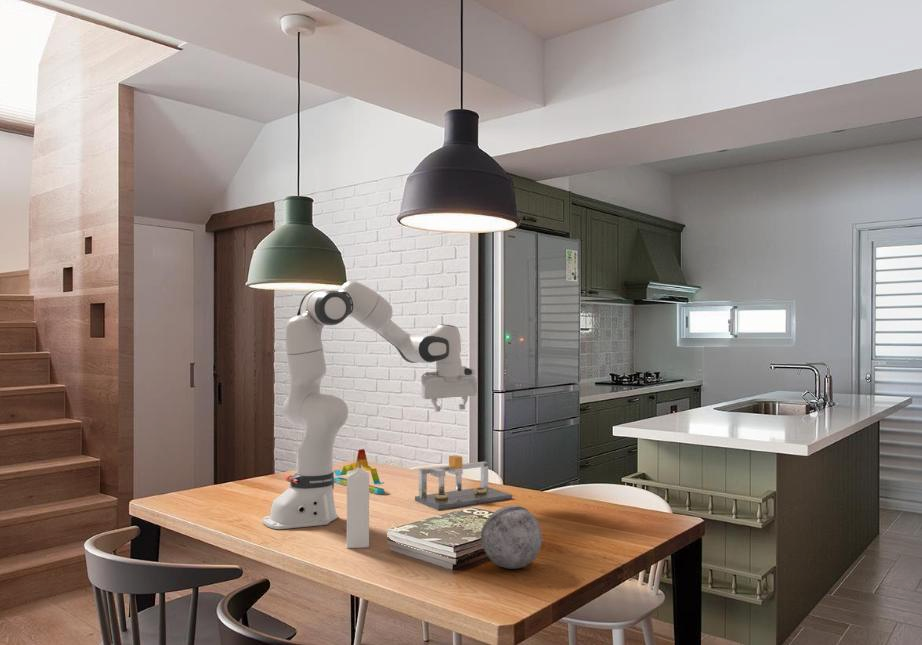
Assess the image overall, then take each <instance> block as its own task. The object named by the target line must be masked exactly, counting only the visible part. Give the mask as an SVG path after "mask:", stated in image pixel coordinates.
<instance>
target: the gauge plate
mask: <svg viewBox="0 0 922 645" xmlns="http://www.w3.org/2000/svg"><path fill="white" fill-rule="evenodd" d="M448 467H449V465H444V466H443V465H442V466H434V467H424V468H418V495H415V496H414V501H415V502H416V503H419V504H421V505H425V506H427V507H430V508H432V509H434V510H436V511H437V510H438V511H441V510H443V511H444V510H449V509H454V508H460V507H461V508H462V507H467V506H468V507H469V506H475V505H480V504H485V503H486V504H487V503H495V502H499V501H507V500H511V499H512V498H513V494H511V493H508V492H504V491H501V490H498V489H495V488H492V487H489V461H485V460H484V461H477V462H469V463H468V462H467V463H462V468H463V470H470V469H477V468H480V487H474V488H465V489H462V491H456V490H453V491H445V477H446V472H448ZM427 474H430V475H431V476H432V477H436V478H438V492H437V493H429V494H428V490H427V489H428V488H427V487H428V485H427V484H428V483H427Z"/></svg>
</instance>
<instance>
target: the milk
mask: <svg viewBox="0 0 922 645" xmlns="http://www.w3.org/2000/svg"><path fill="white" fill-rule="evenodd" d="M346 479H347V486H346V549H360V548H362V549H363V548H369V547H370V492H369V485H370V474H369V472H368V471H367V470H365V469H363V468H361V469H360V468H359V467H357V468H356V469H354V470H351V471H348V472H347V474H346Z"/></svg>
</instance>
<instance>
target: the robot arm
mask: <svg viewBox="0 0 922 645" xmlns="http://www.w3.org/2000/svg"><path fill="white" fill-rule="evenodd" d="M393 311H394V310H393V307H392V304H390V303H389V302H388V300H387V299H386V298H384V297H383V296H382V295H380V293H377V292H376V291H375V290H373V289H372V288H370V287H368V286H367V285H364V284H362V283H361V282H358V281H356V280H349V281H346V282H344V283H343V284H342V285H341V286H340V287H339V289H338V290H329V289H313V290H311V291H309V292H308V293H306V294H305V295H303V297H302V299H301V301H300V303H299V308H298V311H297V313H296V315H295V316H293V317H291V318H290V319H289V320H288V321H287V322H286V324H285V331H284V332H285V336H284V337H285V348H286V356H287V362H288V369H289V378H290V380H289V383H290V384H289V391H288V395H287V398H286V399H285V400H284V402H283V403H282V409H281V410H282V415H283V418H284V419H285V420H286V421H287V422H288V423H290V424H292V425H294V426H296V427H298V428H306V431H305V436H304V438H303V441H302V442H301V443H300V444H299V445H298V446H297V449H296V471H295V472H296V473H295V474H294V475H291V474H286V476H285V478H284V479H285V481H287V482H289V483H290V486H288V488H287V489H286V490H284V491H283V492H282V493H281V494H280V495H278V496H277V497H276V498H275V499H274V500H273V501H272V504H271V507H270V513H269V514H270V515H267V516H264V517H263V519H262V523H263V525H265V526H266V527H268V528H270V529H275V530H287V529H294V528H295V529H297V528H306V527H315V526H316V527H317V526H324V525H325V526H326V525H329V524H330V523H331V522H332V521H335V520H336V519H337V518H338V513H337V510H336V509H337V508H336V505H335V500H334V498H335V497H334V489H335V488H334V487H335V483H334V478H335V476H334V474H335V473H334V472H333V459H334V458H333V455H334V453H333V452H334V445H335V441H336V437H337V435H338V433H339V431H340V429H341V428H342V427H343V426H344V425H345V424H346V422H347V421H348V416H349V408H348V405H347V403H346V402H345V401H344V400H343V399H342V398H340V397H337V396H336V395H333V394H326V393H321V383H322V379H323V378H324V377H325V375H326V373H327V365H326V359H325V353H324V348H323V343H322V342H323V341H322V339H321V338H322V332H323V331H322V330H323V328H324V326H336V325H338V324H340V323H342V322H343V321H345V320H346V318H347V317H349V316H350V317H351V318H353V319H355V320H356V321H357V322H359V323H360V324H362V325H364V327H366V328H368V329H370V330H372V331H374V332H375V333H377V334H378V335H379V336H381V337H382V338H383V339H384V340H386V341H387V342H388V343H390V344H391V345H392V346H393V347H394V348H395V349H396V350H397V352H398V353H399V356H401V358H402V359H403V360H404V361H406V362H407V363H411V364H417V363H421V364H422V363H423V364H424V363H427V364H431V363H434V362H435V366H436V369H435V370H436V371H431V372H430V371H426V372H425V373H423V374H422V375H421V391H420V392H421V394H420V396H421V398H422V399H425V400H431V404H432V405H433V407H434V412H436V413H437V412H441V406H440V405H438V404H437V402H438V400H439V399H450V398H461V400H462V402H461V403H460V404H458V406H459V407H458V408H459V410H460V411H461V410H462V411H463V410H465V409H466V404H467V402H468V400H469V397H474V396H476V395H477V394H478V383H477V379H476V376H474V375H475V374H476V373H475V369H473V368H471V367H467V366H464V365H462V358H461V351H462V343H461V340H462V339H461V332H460V330H459V328H458V326H455V325H450V324H438V325H437V326H436V328H433V330H431V331H429V332H427V333H425V334H413V333H408V332H406V331H405V330H404V329H402V327H400V326H399V325H397V324H396V323H395V322H394V321H393V320H392V317H393Z"/></svg>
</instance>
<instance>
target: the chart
mask: <svg viewBox="0 0 922 645" xmlns="http://www.w3.org/2000/svg"><path fill="white" fill-rule="evenodd" d="M357 467H359V468H360V469H363V470H364V471H370V474H371V478H372V481H373V485H370V484H369V494H374V495H377V496H378V495H382V494H385V488H382V487H377V486H374V485H382V484H385V482H384V481H383V482H381V481H380V477H379V474H378V469H377V468H376V467H375V468H372V467H371V466H370V465H369V463H368V459H367V454H366V450H365V448H360V449H358V452H357V456H356V462H355V463H354V462H353V463H350V464H346V465H345V464H344V465H343V467H342V469H341V470H340V469H335V470H332V472H334V474H335V476H336V477H334V484H338V485H342V486H345V487H347V478H344V477H340V476H345V475H346V476H347V473H348V472H351V471H352V470H354V469H356V468H357Z"/></svg>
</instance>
